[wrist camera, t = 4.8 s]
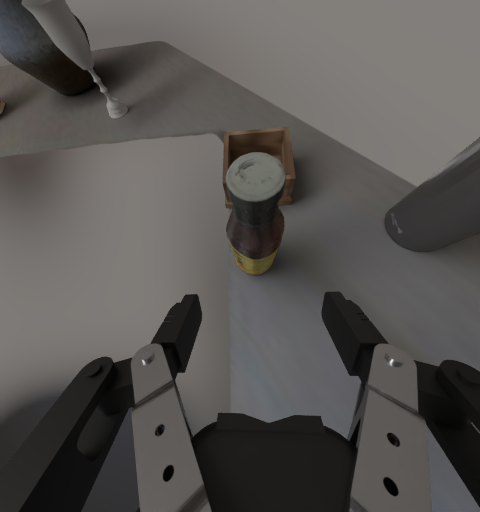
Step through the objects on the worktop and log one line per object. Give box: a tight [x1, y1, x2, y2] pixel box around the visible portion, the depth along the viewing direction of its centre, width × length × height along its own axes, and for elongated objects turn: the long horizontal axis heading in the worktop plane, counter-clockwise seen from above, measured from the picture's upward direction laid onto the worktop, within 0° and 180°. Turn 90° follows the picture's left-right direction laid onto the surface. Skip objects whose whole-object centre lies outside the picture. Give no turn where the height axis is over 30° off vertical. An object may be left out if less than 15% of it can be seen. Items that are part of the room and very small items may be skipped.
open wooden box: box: [223, 127, 296, 208], centre depth 33 cm, size 12×12×6 cm
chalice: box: [21, 0, 128, 118], centre depth 39 cm, size 7×7×18 cm
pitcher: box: [0, 0, 96, 95], centre depth 42 cm, size 21×22×25 cm
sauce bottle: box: [225, 152, 286, 275], centre depth 21 cm, size 6×6×20 cm
